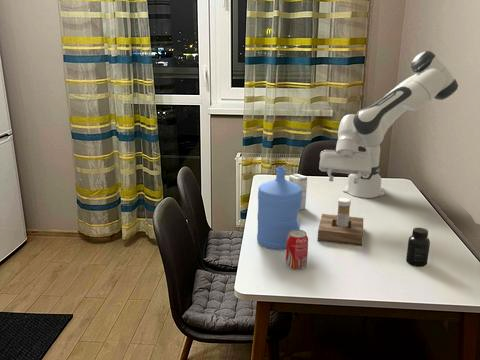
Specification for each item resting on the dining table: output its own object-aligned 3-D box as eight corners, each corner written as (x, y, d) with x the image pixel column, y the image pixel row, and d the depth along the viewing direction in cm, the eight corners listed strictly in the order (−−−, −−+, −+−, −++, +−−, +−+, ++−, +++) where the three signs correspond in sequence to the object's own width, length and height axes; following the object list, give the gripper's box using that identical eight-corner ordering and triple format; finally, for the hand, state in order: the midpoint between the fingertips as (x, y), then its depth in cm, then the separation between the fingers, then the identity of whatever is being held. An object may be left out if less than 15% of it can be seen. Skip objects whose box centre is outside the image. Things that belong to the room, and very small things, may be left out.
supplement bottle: (430, 262, 163) (435, 230, 159) (421, 269, 159) (426, 236, 155) (411, 256, 168) (415, 224, 164) (401, 262, 163) (406, 230, 160)
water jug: (274, 255, 168) (276, 178, 159) (248, 238, 180) (249, 166, 171) (308, 244, 176) (312, 170, 167) (281, 229, 188) (284, 160, 179)
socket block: (321, 224, 193) (322, 213, 192) (362, 228, 189) (363, 217, 188) (317, 241, 178) (318, 229, 177) (361, 246, 175) (363, 234, 173)
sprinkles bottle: (339, 229, 186) (342, 196, 182) (350, 232, 184) (353, 199, 179) (333, 232, 183) (336, 199, 179) (344, 236, 180) (347, 202, 176)
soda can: (288, 259, 165) (290, 227, 161) (309, 263, 162) (311, 230, 158) (282, 268, 158) (284, 235, 155) (303, 273, 156) (305, 239, 152)
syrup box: (287, 207, 210) (288, 175, 206) (297, 204, 214) (298, 173, 209) (296, 211, 206) (297, 179, 201) (306, 208, 209) (307, 176, 205)
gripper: (320, 145, 194) (316, 175, 188) (373, 149, 189) (370, 180, 183) (321, 153, 199) (316, 183, 193) (372, 157, 194) (369, 187, 188)
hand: (343, 181), depth 188 cm, fingers open, 8 cm apart
